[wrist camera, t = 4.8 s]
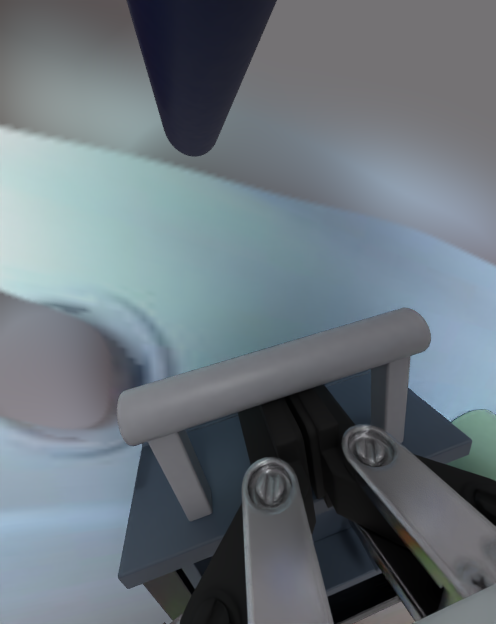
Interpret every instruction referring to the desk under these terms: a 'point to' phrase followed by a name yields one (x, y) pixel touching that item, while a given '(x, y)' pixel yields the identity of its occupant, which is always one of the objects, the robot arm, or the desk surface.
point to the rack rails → (343, 604)
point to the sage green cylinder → (478, 443)
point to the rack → (233, 453)
